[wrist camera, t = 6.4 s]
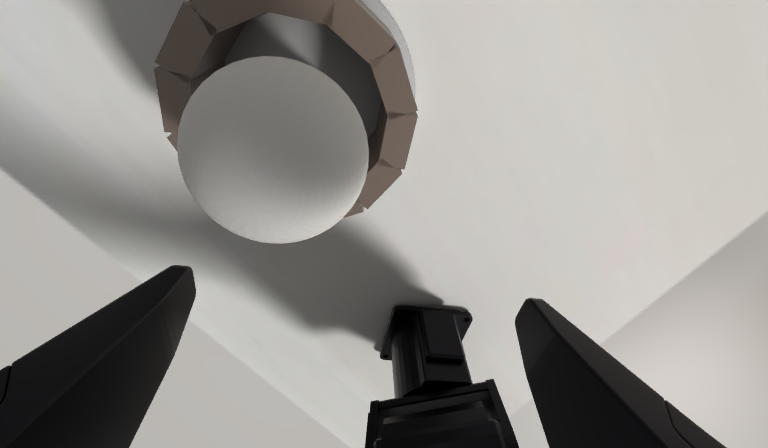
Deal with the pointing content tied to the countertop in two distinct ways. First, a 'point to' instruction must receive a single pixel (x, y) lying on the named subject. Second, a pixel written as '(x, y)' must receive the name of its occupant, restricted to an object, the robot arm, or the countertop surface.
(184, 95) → the socket
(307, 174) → the light bulb
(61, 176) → the countertop surface
